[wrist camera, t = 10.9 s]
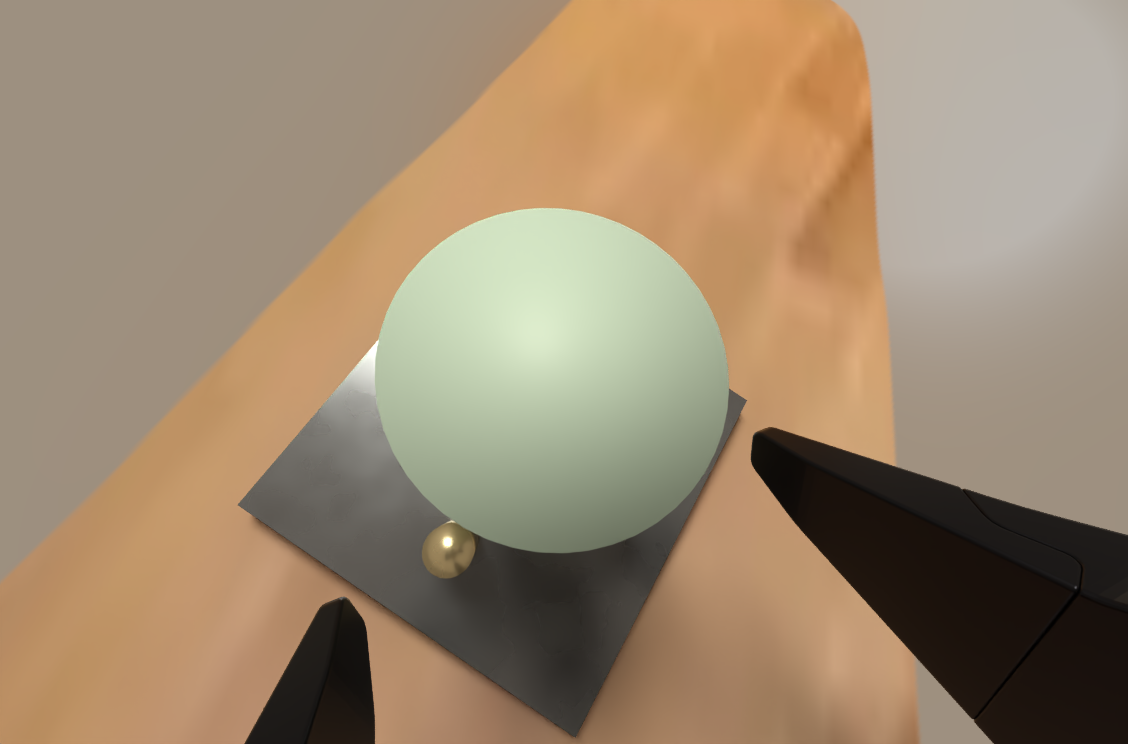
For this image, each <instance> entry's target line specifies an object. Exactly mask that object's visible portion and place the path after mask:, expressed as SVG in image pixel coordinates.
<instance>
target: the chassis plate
mask: <svg viewBox="0 0 1128 744" xmlns="http://www.w3.org/2000/svg"><path fill="white" fill-rule="evenodd" d="M377 346H378V341H377V342H376V343H375V345H374V346H373V347H372V348H371V349H370V350H369V352H368V353H367V354H366V355H365V356H364V357H363V359H362V360H361V361H360V362H359V363H358V364H357V366H356V367H355V368H354V369H353V370H352V372H351V373H350V374H349V375H348V376H347V377H346V379H345V380H344V381H343V382H342V383H341V384H340V386H339V387H338V388H337V389H336V390H335V391H334V393H333V394H332V395H331V396H330V397H329V398H328V400H327V401H326V402H325V403H324V404H323V406H322V407H321V408H320V409H319V410H318V411H317V413H316V414H315V415H314V416H313V417H312V418H311V420H310V421H309V422H308V423H307V424H306V425H305V427H304V428H303V429H302V430H301V431H300V432H299V434H298V435H297V436H296V437H295V438H294V439H293V441H292V442H291V443H290V444H289V445H288V447H287V448H286V449H285V450H284V451H283V452H282V454H281V455H280V456H279V457H278V458H277V459H276V461H275V462H274V463H273V464H272V465H271V466H270V468H269V469H268V470H267V471H266V472H265V473H264V475H263V476H262V477H261V478H260V479H259V480H258V482H257V483H256V484H255V485H254V486H253V488H252V489H251V490H250V491H249V492H248V493H247V495H246V496H245V497H244V498H243V499H242V500H241V502H240V503H239V504H238V506H240V507H241V508H243V509H244V510H246V511H247V512H249V513H250V514H251V515H253V516H254V517H256V518H257V519H259V520H260V521H262V522H263V523H265V524H266V525H267V526H269V527H270V528H272V529H273V530H275V531H276V532H278V533H279V534H280V535H282V536H283V537H285V538H286V539H288V540H289V541H291V542H292V543H294V544H295V545H296V546H298V547H299V548H301V549H302V550H304V551H305V552H307V553H308V554H310V555H311V556H312V557H314V558H315V559H317V560H318V561H320V562H321V563H323V564H324V565H325V566H327V567H328V568H330V569H331V570H333V571H334V572H336V573H337V574H339V575H340V576H341V577H343V578H344V579H346V580H347V581H349V582H350V583H352V584H353V585H354V586H356V587H357V588H359V589H360V590H362V591H363V592H365V593H366V594H368V595H369V596H370V597H372V598H373V599H375V600H376V601H378V602H379V603H381V604H382V605H383V606H385V607H386V608H388V609H389V610H391V611H392V612H394V613H395V614H397V615H398V616H399V617H401V618H402V619H404V620H405V621H407V622H408V623H410V624H411V625H412V626H414V627H415V628H417V629H418V630H420V631H421V632H423V633H424V634H426V635H427V636H428V637H430V638H431V639H433V640H434V641H436V642H437V643H439V644H440V645H441V646H443V647H444V648H446V649H447V650H449V651H450V652H452V653H453V654H455V655H456V656H457V657H459V658H460V659H462V660H463V661H465V662H466V663H468V664H469V665H470V666H472V667H473V668H475V669H476V670H478V671H479V672H481V673H482V674H484V675H485V676H486V677H488V678H489V679H491V680H492V681H494V682H495V683H497V684H498V685H499V686H501V687H502V688H504V689H505V690H507V691H508V692H510V693H511V694H513V695H514V696H515V697H517V698H518V699H520V700H521V701H523V702H524V703H526V704H527V705H528V706H530V707H531V708H533V709H534V710H536V711H537V712H539V713H540V714H542V715H543V716H544V717H546V718H547V719H549V720H550V721H552V722H553V723H555V724H556V725H557V726H559V727H560V728H562V729H563V730H565V731H566V732H568V733H569V734H571V735H572V736H573V737H575V738H576V736H577V734H578V732H579V730H580V728H581V726H582V724H583V722H584V720H585V718H586V716H587V714H588V712H589V710H590V708H591V706H592V704H593V702H594V700H595V698H596V696H597V694H598V692H599V690H600V688H601V687H602V685H603V683H604V681H605V679H606V677H607V675H608V673H609V671H610V669H611V667H612V665H613V663H614V661H615V659H616V657H617V655H618V653H619V651H620V649H621V647H622V645H623V643H624V641H625V639H626V637H627V635H628V633H629V631H630V629H631V627H632V626H633V624H634V622H635V620H636V618H637V616H638V614H639V612H640V610H641V608H642V606H643V604H644V602H645V600H646V598H647V596H648V594H649V592H650V590H651V588H652V586H653V584H654V582H655V580H656V578H657V576H658V574H659V572H660V570H661V568H662V567H663V565H664V563H665V561H666V559H667V557H668V555H669V553H670V551H671V549H672V547H673V545H674V543H675V541H676V539H677V537H678V535H679V533H680V531H681V529H682V527H683V525H684V523H685V521H686V519H687V517H688V515H689V513H690V511H691V509H692V507H693V506H694V504H695V502H696V500H697V498H698V496H699V494H700V492H701V490H702V488H703V486H704V484H705V482H706V480H707V478H708V476H709V474H710V472H711V470H712V468H713V466H714V464H715V462H716V460H717V458H718V456H719V454H720V452H721V450H722V448H723V447H724V445H725V443H726V441H727V439H728V437H729V435H730V433H731V431H732V429H733V427H734V425H735V423H736V421H737V419H738V417H739V415H740V413H741V411H742V409H743V407H744V405H745V403H746V401H747V400H745V399H744V398H742V397H741V396H739V395H738V394H736V393H735V392H733V391H732V390H730V389H729V396H728V408H727V414H726V419H725V424H724V428H723V432H722V435H721V438H720V441H719V444H718V446H717V449H716V452H715V454H714V456H713V458H712V460H711V462H710V464H709V466H708V468H707V469H706V471H705V473H704V475H703V476H702V477H701V479H700V480H699V482H698V483H697V484H696V486H695V487H694V489H693V490H692V491H691V492H690V493H689V495H688V496H687V497H686V498H685V499H684V500H683V501H682V502H681V503H680V504H679V505H678V506H677V507H676V508H675V509H674V510H673V511H671V512H670V513H669V514H668V515H666V516H665V517H664V518H663V519H661V520H660V521H659V522H658V523H656V524H654V525H653V526H651V527H649V528H648V529H646V530H644V531H642V532H641V533H639V534H637V535H635V536H633V537H630V538H628V539H626V540H623V541H621V542H618V543H616V544H613V545H609V546H605V547H601V548H597V549H593V550H589V551H581V552H571V553H543V552H533V551H528V550H522V549H517V548H512V547H509V546H506V545H503V544H500V543H497V542H494V541H491V540H487V539H485V538H483V537H481V536H479V535H477V534H475V533H473V532H471V531H469V530H467V529H465V528H463V527H462V526H461V525H459V524H458V523H456V522H455V521H453V520H452V519H450V518H449V517H447V516H446V515H445V514H443V513H442V512H441V511H440V510H439V509H437V508H436V507H435V506H434V505H433V504H432V503H431V502H430V501H429V500H428V499H427V498H425V497H424V496H423V495H422V493H421V492H420V491H419V490H418V488H417V487H416V486H415V485H414V484H413V482H412V481H411V480H410V479H409V477H408V476H407V475H406V473H405V472H404V470H403V468H402V467H401V465H400V463H399V462H398V460H397V458H396V457H395V455H394V453H393V451H392V449H391V446H390V444H389V442H388V439H387V437H386V434H385V432H384V429H383V426H382V422H381V418H380V414H379V410H378V407H377V398H376V390H375V357H376V352H377Z"/></svg>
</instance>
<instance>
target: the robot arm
mask: <svg viewBox="0 0 1128 744" xmlns="http://www.w3.org/2000/svg"><path fill="white" fill-rule="evenodd" d="M751 463H752V465H753V467H754V469H755V470H756V472H757V473H758V474H759V476H760V477H761V478H762V480H763V481H764V483H765V484H766V485H767V487H768V488H769V489H770V491H771V492H772V493H773V495H774V496H775V497H776V499H777V500H778V501H779V503H780V504H781V505H782V507H783V508H784V509H785V511H786V512H787V513H788V515H789V516H790V517H791V519H792V520H793V521H794V522H795V524H796V525H797V526H798V527H799V528H800V529H801V531H802V532H803V533H804V534H805V535H806V536H807V537H808V538H809V539H810V541H811V542H812V543H813V544H814V545H815V546H816V547H817V548H818V549H819V551H820V552H821V553H822V554H823V555H824V556H825V557H826V558H827V559H828V560H829V562H830V563H831V564H832V565H833V566H834V567H835V568H836V569H837V570H838V572H839V573H840V574H841V575H842V576H843V577H844V578H845V579H846V580H847V581H848V583H849V584H850V585H851V586H852V587H853V588H854V589H855V590H856V591H857V593H858V594H859V595H860V596H861V597H862V598H863V599H864V600H865V601H866V602H867V604H868V605H869V606H870V607H871V608H872V609H873V610H874V611H875V612H876V614H877V615H878V616H879V617H880V618H881V619H882V620H883V621H884V622H885V623H886V625H887V626H888V627H889V628H890V629H891V630H892V631H893V632H894V633H895V635H896V636H897V637H898V638H899V639H900V640H901V641H902V642H903V643H904V645H905V646H906V647H907V648H908V649H909V650H910V651H911V652H912V653H913V654H914V656H915V657H916V658H917V659H918V660H919V661H920V662H921V663H922V664H923V666H924V667H925V668H926V669H927V670H928V671H929V672H930V673H931V674H932V675H933V676H934V678H935V679H936V680H937V681H938V682H939V683H940V684H941V685H942V686H943V688H945V690H946V691H947V692H948V693H949V694H950V695H951V696H952V698H953V699H954V700H955V701H956V702H957V703H958V704H959V705H960V706H961V707H962V709H963V710H964V711H965V712H966V713H967V714H968V715H969V716H970V717H971V718H972V719H974V722H975V723H976V724H977V726H978V727H979V728H980V729H981V730H982V731H983V732H984V733H985V734H986V736H987V737H988V738H989V739H990V740H991V741H992V742H993V743H994V744H1128V535H1125V534H1122V533H1118V532H1114V531H1110V530H1107V529H1103V528H1099V527H1095V526H1091V525H1088V524H1084V523H1080V522H1076V521H1073V520H1069V519H1065V518H1061V517H1058V516H1054V515H1050V514H1047V513H1043V512H1040V511H1036V510H1032V509H1029V508H1025V507H1022V506H1019V505H1015V504H1012V503H1009V502H1006V501H1002V500H999V499H996V498H992V497H989V496H986V495H983V494H980V493H977V492H974V491H971V490H967V489H961V488H960V487H958V486H954V485H951V484H948V483H945V482H942V481H939V480H936V479H932V478H930V477H926V476H923V475H920V474H917V473H914V472H911V471H908V470H905V469H901V468H898V467H895V466H892V465H889V464H886V463H883V462H880V461H877V460H874V459H870V458H867V457H864V456H861V455H858V454H855V453H852V452H849V451H846V450H842V449H839V448H836V447H833V446H830V445H827V444H824V443H821V442H817V441H814V440H811V439H808V438H805V437H802V436H799V435H796V434H793V433H789V432H786V431H783V430H780V429H777V428H773V427H768V428H765V429H763V430H760V431H757V432H756V433H755V434H754V435H753V440H752V450H751ZM245 744H375V714H374V702H373V691H372V681H371V671H370V661H369V651H368V640H367V631H366V626H365V623H364V620H363V619H362V617H361V616H360V614H359V613H358V611H357V610H356V609H355V607H354V606H353V604H352V603H351V602H350V600H349V599H348V598H346V597H340V598H338V599H335V600H333V601H330V602H328V603H325V604H324V605H322V606H321V607H320V608H319V610H318V611H317V613H316V615H315V617H314V619H313V621H312V622H311V624H310V626H309V628H308V630H307V631H306V633H305V635H304V637H303V639H302V640H301V642H300V644H299V646H298V648H297V649H296V651H295V653H294V655H293V657H292V659H291V660H290V662H289V664H288V666H287V668H286V669H285V671H284V673H283V675H282V677H281V678H280V680H279V682H278V684H277V686H276V687H275V689H274V691H273V693H272V695H271V696H270V698H269V700H268V702H267V704H266V706H265V707H264V709H263V711H262V713H261V715H260V716H259V718H258V720H257V722H256V724H255V725H254V727H253V729H252V731H251V733H250V734H249V736H248V738H247V740H246V742H245Z"/></svg>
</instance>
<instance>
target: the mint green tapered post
mask: <svg viewBox="0 0 1128 744" xmlns="http://www.w3.org/2000/svg"><path fill="white" fill-rule="evenodd" d="M375 390H376V398H377V407H378V410H379V414H380V418H381V422H382V426H383V429H384V432H385V434H386V437H387V439H388V442H389V444H390V446H391V449H392V451H393V453H394V455H395V457H396V458H397V460H398V462H399V463H400V465H401V467H402V468H403V470H404V472H405V473H406V475H407V476H408V477H409V479H410V480H411V481H412V482H413V484H414V485H415V486H416V487H417V488H418V490H419V491H420V492H421V493H422V495H423V496H424V497H425V498H427V499H428V500H429V501H430V502H431V503H432V504H433V505H434V506H435V507H436V508H437V509H439V510H440V511H441V512H442V513H443V514H445V515H446V516H447V517H449V518H450V519H452V520H453V521H455V522H456V523H458V524H459V525H461V526H462V527H463V528H465V529H467V530H469V531H471V532H473V533H475V534H477V535H479V536H481V537H483V538H485V539H487V540H491V541H494V542H497V543H500V544H503V545H506V546H509V547H512V548H517V549H522V550H528V551H533V552H543V553H571V552H581V551H589V550H593V549H597V548H601V547H605V546H609V545H613V544H616V543H618V542H621V541H623V540H626V539H628V538H630V537H633V536H635V535H637V534H639V533H641V532H642V531H644V530H646V529H648V528H649V527H651V526H653V525H654V524H656V523H658V522H659V521H660V520H661V519H663V518H664V517H665V516H666V515H668V514H669V513H670V512H671V511H673V510H674V509H675V508H676V507H677V506H678V505H679V504H680V503H681V502H682V501H683V500H684V499H685V498H686V497H687V496H688V495H689V493H690V492H691V491H692V490H693V489H694V487H695V486H696V484H697V483H698V482H699V480H700V479H701V477H702V476H703V475H704V473H705V471H706V469H707V468H708V466H709V464H710V462H711V460H712V458H713V456H714V454H715V452H716V449H717V446H718V444H719V441H720V438H721V435H722V432H723V428H724V424H725V419H726V414H727V408H728V396H729V378H728V365H727V359H726V353H725V347H724V344H723V341H722V337H721V334H720V331H719V327H718V325H717V323H716V320H715V318H714V316H713V314H712V311H711V309H710V307H709V305H708V304H707V302H706V300H705V298H704V297H703V295H702V293H701V292H700V290H699V289H698V287H697V286H696V285H695V283H694V282H693V281H692V279H691V278H690V277H689V275H688V274H687V273H686V272H685V271H684V270H683V269H682V268H681V266H680V265H679V264H678V263H677V262H676V261H675V260H674V259H673V258H672V257H671V256H669V255H668V254H667V253H666V252H665V251H663V250H662V249H661V248H660V247H659V246H657V245H656V244H655V243H653V242H652V241H650V240H649V239H647V238H646V237H644V236H642V235H641V234H639V233H638V232H636V231H634V230H632V229H630V228H628V227H626V226H624V225H622V224H620V223H617V222H615V221H612V220H609V219H606V218H604V217H601V216H597V215H593V214H589V213H585V212H581V211H575V210H567V209H560V208H535V209H525V210H516V211H512V212H507V213H503V214H498V215H495V216H492V217H489V218H486V219H484V220H481V221H478V222H476V223H474V224H472V225H470V226H468V227H466V228H464V229H462V230H460V231H458V232H456V233H455V234H453V235H452V236H450V237H449V238H447V239H446V240H444V241H443V242H441V243H440V244H438V245H437V246H436V247H435V248H434V249H433V250H432V251H430V252H429V253H428V254H427V255H426V256H425V257H424V258H423V259H422V260H421V261H420V262H419V263H418V264H417V265H416V267H415V268H414V269H413V270H412V271H411V272H410V273H409V275H408V276H407V278H406V279H405V281H404V282H403V284H402V285H401V287H400V288H399V290H398V291H397V293H396V295H395V297H394V299H393V301H392V303H391V305H390V307H389V309H388V311H387V313H386V316H385V319H384V322H383V325H382V329H381V332H380V335H379V340H378V346H377V352H376V357H375Z"/></svg>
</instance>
